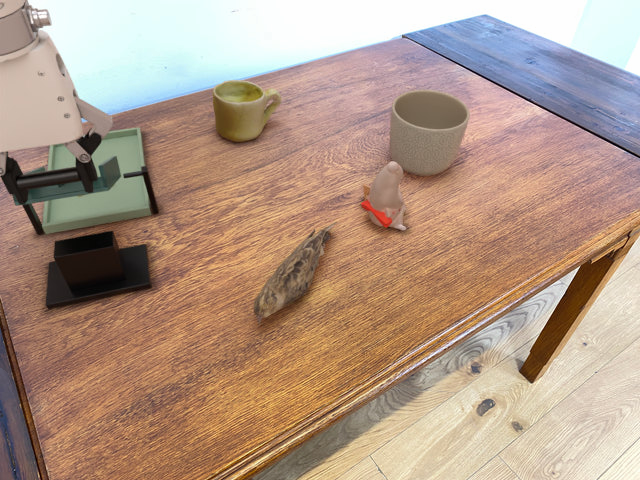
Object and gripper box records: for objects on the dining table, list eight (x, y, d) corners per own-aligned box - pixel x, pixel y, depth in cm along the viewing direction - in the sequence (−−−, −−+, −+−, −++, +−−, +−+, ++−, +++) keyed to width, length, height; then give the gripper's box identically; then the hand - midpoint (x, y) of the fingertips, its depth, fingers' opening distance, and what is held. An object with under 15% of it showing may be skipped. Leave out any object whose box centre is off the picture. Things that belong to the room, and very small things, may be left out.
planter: (387, 185, 85) (395, 129, 78) (381, 142, 94) (389, 88, 86) (461, 187, 85) (477, 131, 78) (449, 144, 94) (462, 90, 86)
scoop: (104, 195, 55) (96, 163, 54) (3, 213, 53) (-7, 179, 52) (121, 176, 73) (115, 152, 73) (46, 188, 71) (39, 163, 70)
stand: (168, 284, 69) (156, 242, 63) (29, 313, 65) (2, 271, 60) (158, 207, 80) (146, 165, 74) (38, 228, 76) (16, 186, 70)
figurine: (420, 220, 79) (429, 165, 70) (390, 245, 77) (396, 191, 67) (377, 189, 84) (380, 134, 74) (348, 212, 81) (347, 158, 71)
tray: (151, 215, 79) (149, 207, 78) (45, 234, 75) (41, 226, 74) (141, 134, 94) (139, 126, 93) (53, 147, 91) (50, 139, 89)
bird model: (285, 332, 60) (254, 304, 60) (263, 343, 65) (234, 317, 64) (360, 224, 73) (335, 200, 73) (338, 239, 78) (314, 217, 77)
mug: (208, 143, 89) (213, 84, 85) (209, 127, 98) (214, 74, 94) (278, 151, 92) (286, 94, 88) (273, 135, 101) (279, 84, 97)
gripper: (92, 3, 48) (136, 158, 61) (-118, 21, 44) (-24, 183, 57) (92, 36, 43) (140, 198, 56) (-144, 60, 39) (-34, 228, 52)
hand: (57, 189), depth 57 cm, fingers closed on scoop, 6 cm apart
